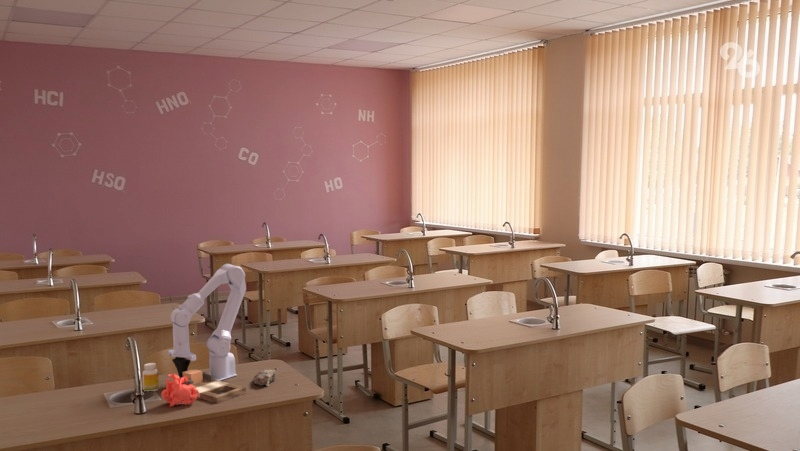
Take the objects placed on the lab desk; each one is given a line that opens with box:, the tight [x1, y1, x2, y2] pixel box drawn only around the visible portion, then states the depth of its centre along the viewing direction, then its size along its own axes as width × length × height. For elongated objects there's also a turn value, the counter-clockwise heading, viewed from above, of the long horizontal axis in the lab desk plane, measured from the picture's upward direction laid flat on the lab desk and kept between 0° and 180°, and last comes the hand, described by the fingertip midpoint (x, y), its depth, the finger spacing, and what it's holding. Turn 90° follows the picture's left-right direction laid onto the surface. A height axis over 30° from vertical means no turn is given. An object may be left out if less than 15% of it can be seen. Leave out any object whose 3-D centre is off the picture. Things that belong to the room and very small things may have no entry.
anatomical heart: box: [161, 373, 198, 407], centre depth 233 cm, size 9×12×12 cm
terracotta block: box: [183, 368, 203, 384], centre depth 251 cm, size 5×5×4 cm
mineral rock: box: [253, 369, 276, 387], centre depth 257 cm, size 15×8×4 cm, turn 171°
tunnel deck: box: [171, 371, 247, 404], centre depth 247 cm, size 13×28×4 cm, turn 54°
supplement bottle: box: [142, 362, 160, 392], centre depth 249 cm, size 5×5×10 cm
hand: (182, 376), depth 255 cm, fingers closed
